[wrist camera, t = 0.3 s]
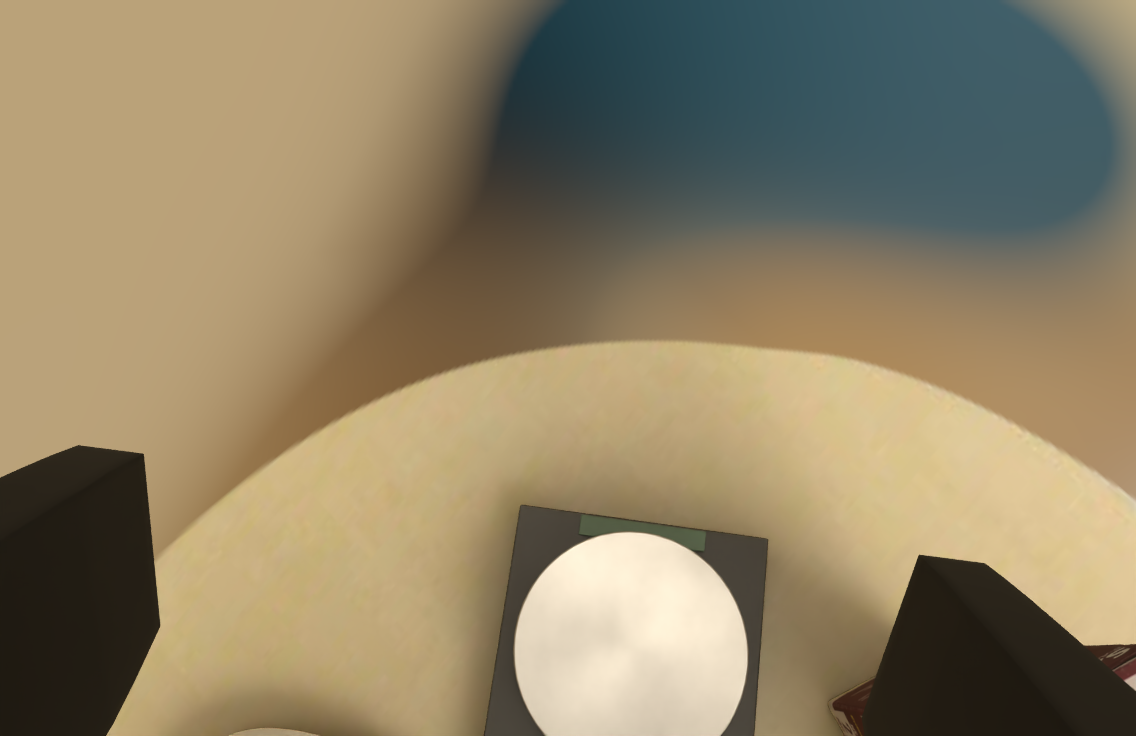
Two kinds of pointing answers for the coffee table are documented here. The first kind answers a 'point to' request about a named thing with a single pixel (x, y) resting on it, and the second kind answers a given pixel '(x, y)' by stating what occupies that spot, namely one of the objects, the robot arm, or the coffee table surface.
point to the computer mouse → (272, 732)
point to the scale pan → (630, 642)
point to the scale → (559, 530)
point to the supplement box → (848, 707)
